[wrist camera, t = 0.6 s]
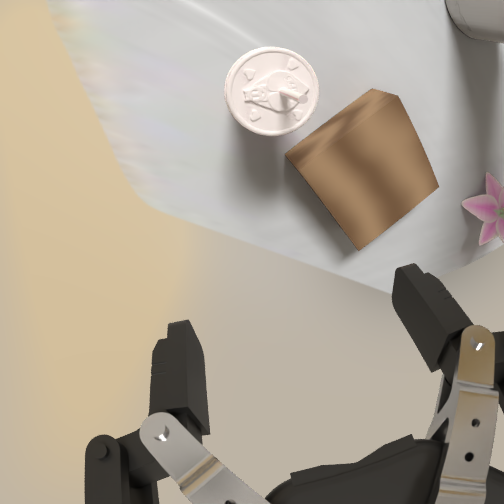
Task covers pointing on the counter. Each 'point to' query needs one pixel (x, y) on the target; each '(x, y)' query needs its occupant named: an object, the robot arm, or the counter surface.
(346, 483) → the robot arm
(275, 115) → the smoothie
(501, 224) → the lily
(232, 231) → the counter surface
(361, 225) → the walnut block
